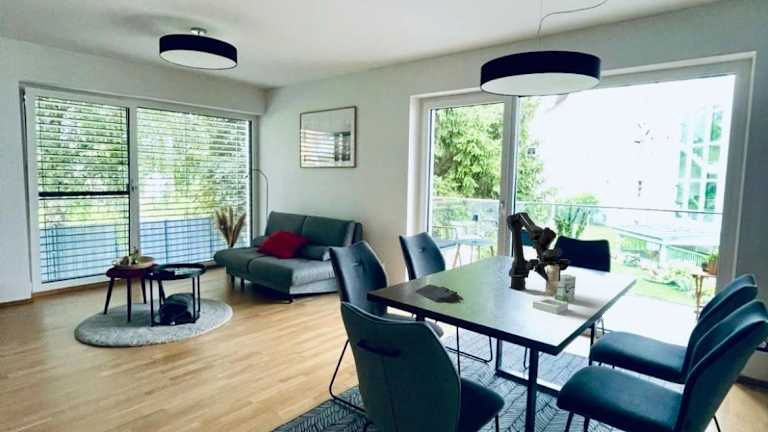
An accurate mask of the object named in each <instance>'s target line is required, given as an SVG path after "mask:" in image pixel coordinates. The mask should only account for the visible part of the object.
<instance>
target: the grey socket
mask: <svg viewBox="0 0 768 432" xmlns="http://www.w3.org/2000/svg"><path fill="white" fill-rule="evenodd" d="M532 309H536V310H540V311H544V312H547V313H551V314H554V315H558V314H560V313H562V312H565V311H567V310H569V302H568V301H566V302H563V301H559V300H555V298H550V297H546V296H545V297H542V298H538V299H534V300H533V301H532Z"/></svg>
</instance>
